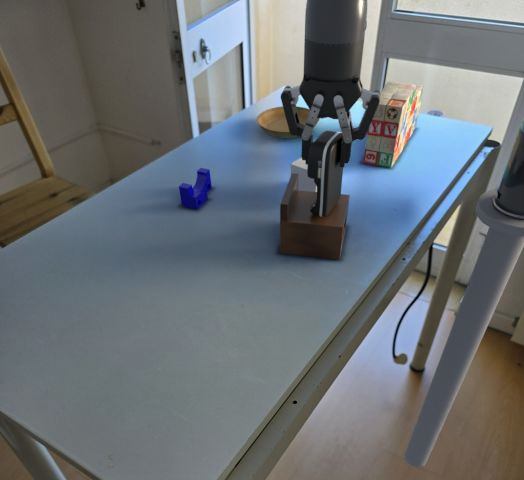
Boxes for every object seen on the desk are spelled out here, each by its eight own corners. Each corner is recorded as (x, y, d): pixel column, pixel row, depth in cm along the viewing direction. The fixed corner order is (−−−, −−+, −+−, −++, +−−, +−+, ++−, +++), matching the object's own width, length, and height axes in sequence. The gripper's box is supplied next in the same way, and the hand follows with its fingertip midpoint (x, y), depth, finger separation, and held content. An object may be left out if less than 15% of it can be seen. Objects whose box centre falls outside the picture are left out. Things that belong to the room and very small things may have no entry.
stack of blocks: (389, 124, 113) (399, 67, 104) (415, 128, 111) (427, 70, 102) (362, 163, 100) (370, 101, 91) (391, 168, 98) (402, 106, 89)
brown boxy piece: (346, 226, 85) (351, 177, 78) (339, 259, 78) (345, 210, 71) (291, 221, 86) (291, 173, 79) (280, 253, 80) (279, 203, 73)
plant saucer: (290, 148, 106) (290, 137, 104) (244, 131, 113) (243, 119, 111) (331, 127, 113) (332, 116, 111) (285, 112, 120) (285, 101, 118)
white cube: (290, 193, 93) (290, 163, 89) (308, 181, 96) (309, 152, 92) (315, 203, 90) (316, 172, 86) (332, 190, 93) (335, 160, 89)
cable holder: (197, 209, 90) (194, 190, 87) (181, 205, 91) (178, 186, 88) (218, 190, 95) (216, 170, 92) (203, 186, 96) (200, 167, 93)
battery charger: (320, 194, 80) (324, 124, 72) (341, 198, 79) (347, 128, 70) (303, 214, 76) (305, 143, 67) (325, 219, 75) (330, 147, 66)
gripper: (272, 39, 58) (274, 171, 71) (391, 43, 56) (371, 179, 68) (284, 22, 63) (284, 149, 76) (394, 25, 61) (374, 155, 73)
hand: (325, 163), depth 72 cm, fingers closed on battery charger, 4 cm apart
